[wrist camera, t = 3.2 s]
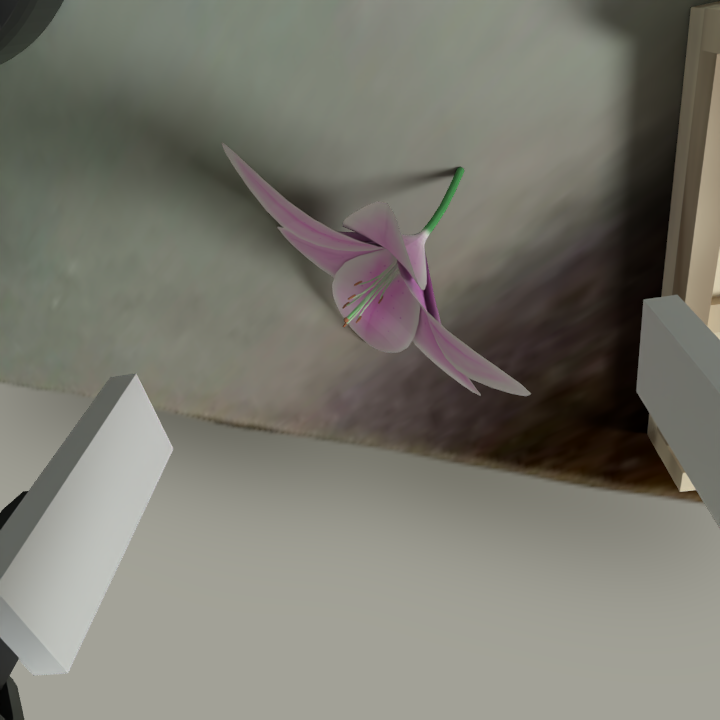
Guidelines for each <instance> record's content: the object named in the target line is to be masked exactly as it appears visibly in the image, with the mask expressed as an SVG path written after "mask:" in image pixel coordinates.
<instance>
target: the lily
mask: <svg viewBox="0 0 720 720" xmlns="http://www.w3.org/2000/svg"><path fill="white" fill-rule="evenodd" d="M221 143H222V142H221ZM222 146H223V149H224V151H225V153H226V154H227V156H228V158H229V159H230V161H231V163H232V164H233V166H234V168H235V169H236V171H237V172H238V174H239V175H240V176H241V178H242V179H243V181H244V182H245V184H246V185H247V187H248V188H249V189H250V191H251V192H252V193H253V195H254V196H255V197H256V198H257V200H258V201H259V202H260V203H261V205H262V206H263V207H264V208H265V210H266V211H267V212H268V213H269V214H270V215H271V216H272V217H273V218H274V219H275V220H276V221H277V222H278V223H279V224H280V225H281V226H282V227H277V228H278V229H279V230H280V232H281V233H282V234H283V236H284V237H285V238H286V239H287V240H288V241H289V242H290V243H291V244H292V245H293V246H294V247H295V248H296V249H297V250H299V251H300V252H301V253H302V254H303V255H304V256H305V257H306V258H308V259H309V260H310V261H311V262H313V263H314V264H315V265H316V266H318V267H319V268H320V269H322V270H323V271H325V272H326V273H328V274H329V275H330V276H332V277H333V278H334V281H333V283H332V290H333V298H334V300H335V303H336V305H337V308H338V310H339V311H340V313H341V314H342V316H343V317H344V321H345V324H344V325H343V327H345V326H346V325H347V324H349V325H350V327H351V328H352V329H353V330H354V331H355V332H356V334H357V335H358V336H359V337H361V338H362V339H363V340H364V341H365V342H366V343H367V344H369V345H370V346H371V347H373V348H375V349H377V350H380V351H382V352H388V353H396V352H401V351H402V350H404V349H406V348H408V346H409V345H410V343H411V342H412V341H413V343H414V344H415V345H416V346H417V347H418V348H419V349H420V350H421V351H422V352H423V353H424V354H425V355H426V356H427V357H428V358H429V359H430V360H432V361H433V362H434V363H435V364H436V365H437V366H439V367H440V368H441V369H442V370H443V371H444V372H446V373H447V374H448V375H450V376H451V377H452V378H454V379H455V380H456V381H458V382H459V383H460V384H461V385H463V386H465V387H466V388H468V389H469V390H471V391H472V392H474V393H476V394H478V395H480V396H481V394H480V393H479V392H478V390H477V389H476V388H475V386H474V385H473V384H472V382H471V381H470V379H472V380H475V381H477V382H480V383H482V384H484V385H487V386H489V387H492V388H495V389H498V390H501V391H505V392H508V393H511V394H517V395H522V396H528V395H530V394H531V393H530V392H529V391H528V390H527V389H526V388H525V387H524V386H523V385H521V384H520V383H519V382H517V381H516V380H514V379H513V378H512V377H510V376H509V375H507V374H506V373H505V372H503V371H502V370H500V369H499V368H498V367H496V366H495V365H493V364H492V363H491V362H489V361H488V360H486V359H485V358H483V357H482V356H481V355H479V354H478V353H476V352H475V351H474V350H472V349H471V348H470V347H468V346H467V345H466V344H464V343H463V342H462V341H461V340H459V339H458V338H457V337H455V336H454V335H453V334H451V333H450V332H449V331H447V330H446V329H445V328H444V327H443V326H442V325H441V322H440V318H439V314H438V310H437V306H436V302H435V297H434V293H433V288H432V284H431V279H430V274H429V269H428V264H427V259H426V254H425V248H424V245H425V241H426V239H427V237H428V236H429V235H430V233H431V232H432V230H433V229H434V228H435V226H436V225H437V223H438V222H439V220H440V219H441V217H442V216H443V214H444V212H445V211H446V209H447V207H448V205H449V203H450V201H451V199H452V197H453V195H454V193H455V191H456V189H457V187H458V184H459V182H460V180H461V178H462V175H463V173H464V169H463V168H462V167H459V168H458V169H457V171H456V173H455V175H454V177H453V180H452V182H451V184H450V186H449V188H448V190H447V192H446V194H445V196H444V198H443V200H442V202H441V204H440V206H439V207H438V209H437V211H436V212H435V214H434V215H433V217H432V218H431V220H430V221H429V222H428V224H427V225H426V226H425V227H424V228H423V230H422V231H421V232H419V233H417V234H415V235H401V232H400V229H399V226H398V223H397V220H396V217H395V215H394V213H393V211H392V209H391V208H390V206H389V205H388V203H385V202H380V201H378V202H375V203H372V204H369V205H367V206H365V207H363V208H361V209H359V210H357V211H356V212H354V213H353V214H351V215H350V216H348V217H347V218H346V219H345V220H344V221H343V227H345V228H348V229H350V230H352V231H354V232H336V231H334V230H333V229H331V228H329V227H327V226H325V225H323V224H322V223H320V222H318V221H316V220H314V219H313V218H311V217H310V216H309V215H307V214H306V213H304V212H303V211H301V210H300V209H299V208H297V207H296V206H294V205H293V204H292V203H290V202H289V201H288V200H287V199H285V198H284V197H283V196H282V195H281V194H280V193H278V192H277V191H276V190H275V189H274V188H273V187H272V186H270V185H269V184H268V183H267V182H266V181H265V180H264V179H262V178H261V177H260V176H259V175H258V174H257V173H256V172H255V171H254V170H253V169H252V168H251V167H250V166H249V165H248V164H247V163H245V162H244V161H243V160H242V159H241V158H240V157H239V156H238V155H237V154H236V153H235V152H234V151H232V150H231V149H230V148H229V147H228V146H227V145H225V144H223V143H222ZM283 227H284V228H283ZM468 377H469V378H470V379H469V378H468Z"/></svg>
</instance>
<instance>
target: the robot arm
mask: <svg viewBox="0 0 720 720" xmlns="http://www.w3.org/2000/svg"><path fill="white" fill-rule="evenodd" d="M63 1H64V0H0V64H2V63H4V62H6V61H8V60H10V59H12V58H13V57H14V56H16V55H17V54H19V53H20V52H22V51H23V50H24V49H25V48H27V47H28V46H29V45H30V44H31V43H33V42H34V41H35V39H36V38H37V37H38V36H39V35H40V34H41V33H42V32H43V31H44V30H45V28H46V27H47V26H48V25H49V23H50V22H51V21H52V19H53V18H54V16H55V14H56V13H57V11H58V10H59V8H60V6H61V4H62V2H63ZM636 392H637V393H638V395H639V397H640V398H641V400H642V402H643V403H644V405H645V407H646V408H647V410H648V412H649V413H650V415H651V417H652V418H653V420H654V421H655V423H656V425H657V426H658V428H659V430H660V431H661V433H662V435H663V436H664V438H665V440H666V441H667V443H668V444H669V446H670V448H671V449H672V451H673V453H674V454H675V456H676V458H677V459H678V461H679V463H680V464H681V466H682V467H683V469H684V471H685V472H686V474H687V476H688V477H689V479H690V481H691V482H692V484H693V486H694V487H695V489H696V490H697V492H698V494H699V495H700V497H701V499H702V500H703V502H704V504H705V505H706V507H707V509H708V510H709V512H710V513H711V515H712V517H713V518H714V520H715V522H716V523H717V525H718V526H719V528H720V340H719V339H718V337H717V336H716V335H715V334H714V333H713V332H712V331H711V330H710V329H709V328H708V327H707V326H706V325H705V324H704V322H703V321H702V320H701V319H700V318H699V317H698V316H697V315H696V314H695V313H694V312H693V311H692V310H691V309H690V307H689V306H688V305H687V304H686V303H685V302H684V301H683V300H682V299H681V298H680V297H679V296H678V295H671V296H664V297H657V298H651V299H644V300H643V312H642V325H641V338H640V350H639V363H638V376H637V388H636ZM172 451H173V447H172V445H171V443H170V441H169V439H168V437H167V435H166V433H165V431H164V429H163V427H162V425H161V423H160V421H159V419H158V417H157V415H156V413H155V410H154V408H153V406H152V404H151V402H150V400H149V398H148V396H147V394H146V392H145V390H144V388H143V386H142V384H141V382H140V380H139V378H138V376H137V374H129V375H122V376H116V377H110V379H109V380H108V381H107V383H106V384H105V385H104V387H103V388H102V390H101V391H100V392H99V394H98V395H97V397H96V398H95V399H94V401H93V402H92V404H91V405H90V406H89V408H88V409H87V411H86V412H85V413H84V415H83V416H82V417H81V419H80V420H79V422H78V423H77V424H76V426H75V427H74V429H73V430H72V432H71V433H70V434H69V436H68V437H67V438H66V440H65V441H64V443H63V444H62V445H61V447H60V448H59V449H58V451H57V452H56V454H55V455H54V456H53V458H52V459H51V461H50V462H49V463H48V465H47V466H46V468H45V469H44V470H43V472H42V473H41V475H40V476H39V477H38V479H37V480H36V481H35V483H34V484H33V486H32V487H31V489H30V490H29V491H25V492H22V493H21V494H20V495H19V496H18V497H17V498H15V499H14V500H13V501H12V502H11V503H10V504H9V505H7V506H6V507H5V508H4V509H3V510H2V511H1V513H0V720H24V716H23V711H22V706H21V702H20V697H19V693H18V688H17V685H16V684H15V682H14V681H13V679H12V678H11V677H10V676H9V675H10V674H11V672H12V670H13V668H14V666H15V664H16V662H17V661H18V659H19V660H20V662H21V663H22V664H23V665H24V666H25V667H26V668H27V669H28V670H29V671H30V672H31V673H32V674H33V675H47V674H64V673H68V672H69V670H70V668H71V665H72V663H73V661H74V659H75V657H76V655H77V653H78V650H79V648H80V646H81V644H82V642H83V640H84V638H85V636H86V634H87V631H88V629H89V627H90V625H91V623H92V621H93V619H94V616H95V614H96V612H97V610H98V608H99V606H100V604H101V602H102V600H103V597H104V595H105V593H106V591H107V589H108V587H109V585H110V583H111V580H112V578H113V576H114V574H115V572H116V570H117V568H118V566H119V563H120V561H121V559H122V557H123V555H124V553H125V550H126V548H127V546H128V544H129V542H130V540H131V538H132V536H133V534H134V531H135V529H136V527H137V525H138V523H139V521H140V519H141V517H142V514H143V512H144V510H145V508H146V506H147V504H148V502H149V500H150V497H151V495H152V493H153V491H154V489H155V487H156V485H157V483H158V480H159V478H160V476H161V474H162V472H163V470H164V468H165V466H166V463H167V461H168V459H169V457H170V455H171V453H172Z"/></svg>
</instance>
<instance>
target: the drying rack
mask: <svg viewBox="0 0 720 720" xmlns="http://www.w3.org/2000/svg"><path fill="white" fill-rule="evenodd" d="M671 295H678V296H679V297H680V298H681V299H682V300H683V301H684V302H685V303H686V304H687V305H688V306H689V307H690V309H691V310H692V311H693V312H694V313H695V314H696V315H697V316H698V317H699V318H700V319H701V320H702V321H703V322H704V324H705V325H706V326H707V327H708V328H709V329H710V330H711V331H712V332H713V333H714V334H715V335H716V336H717V337H718V339H719V340H720V1H718V2H713V3H708V4H704V5H699V6H694V7H691V13H690V22H689V32H688V42H687V52H686V61H685V71H684V81H683V91H682V100H681V110H680V120H679V130H678V139H677V149H676V159H675V169H674V178H673V188H672V198H671V208H670V217H669V227H668V237H667V247H666V256H665V266H664V276H663V286H662V295H661V297H664V296H671ZM647 434H648V436H649V438H650V440H651V442H652V443H653V445H654V447H655V449H656V450H657V452H658V454H659V456H660V457H661V459H662V461H663V463H664V464H665V466H666V468H667V470H668V471H669V473H670V475H671V477H672V478H673V480H674V482H675V484H676V486H677V487H678V489H679V491H680V492H681V491H691V490H696V489H695V487H694V486H693V484H692V482H691V481H690V479H689V477H688V476H687V474H686V472H685V471H684V469H683V467H682V466H681V464H680V463H679V461H678V459H677V458H676V456H675V454H674V453H673V451H672V449H671V448H670V446H669V444H668V443H667V441H666V440H665V438H664V436H663V435H662V433H661V431H660V430H659V428H658V426H657V425H656V423H655V421H654V420H653V418H652V417H651V415H650V413H649V422H648V432H647Z"/></svg>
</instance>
